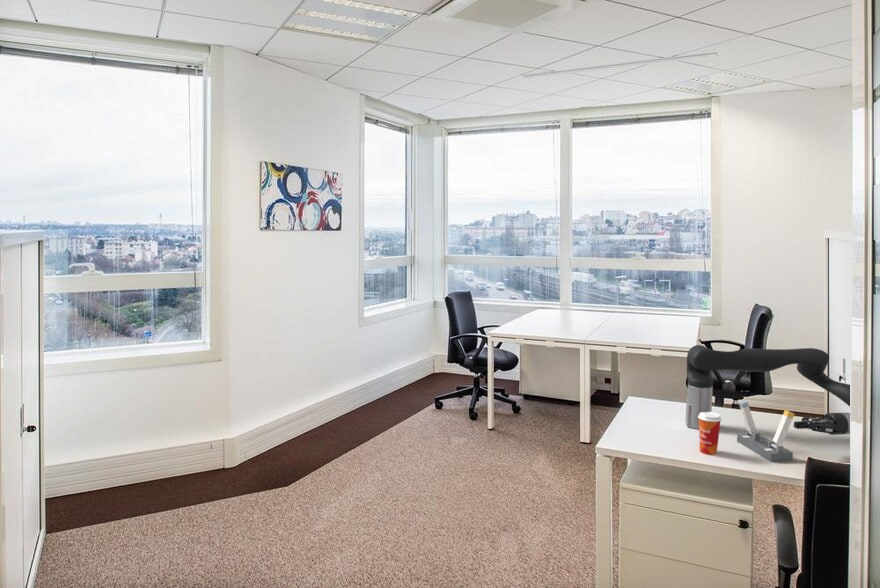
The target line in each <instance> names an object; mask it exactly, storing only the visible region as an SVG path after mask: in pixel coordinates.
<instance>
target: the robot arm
mask: <svg viewBox="0 0 880 588" xmlns="http://www.w3.org/2000/svg"><path fill="white" fill-rule="evenodd" d="M829 362H830V356H829V354H828V353H827V352H825V351H823V349H822V350H821V349H819V348H812V347H809V348H807V347H806V348H805V347H803V348H790V349H788V348H787V349H784V348H783V349H780V348H779V349H772V348H771V349H769V348H768V349H767V348H742V349H737V350H733V351H726V350H725V351H724V350H717V349H716V350H714V349H710V348H708V347H707V346H704V345H700V344H697V345H694V346H692V347H690V349H689V350H688V352H687V355H686V377H687V396H686V397H687V400H686V404H685V405H686V406H685V425H686V427H687V428H690V429H695V430H699V418H698V416H699V414H700V413H701V412H703V413H704V412H713V411H712V410H713V409H712V407H713V388H714V386H713V384H714V381H713V378H712V374H711V371H723V370H725V371H726V370H728V371H729V370H730V371H739V372H752V373H754V372H758V373H767V372H772V371H775V370H777V369H778V370H779V369H780V368H783V367H786V366H789V365H796V370H797V372H798V373H799V374H800V375H802V376H803V377H804V378H806V379H807V380H809V381H810V382H812V383H814V384H815V385H817V386H819V387H820V388H822V389H824V390H825V391H827V392H829V393H830V394H832V395H833V396H835V397H837V399H840V400H841V401H842V402H843V403H844V404H846V405H847V406H848V407H850V385H851V384H848V383H844V382H840V381H836V380H833V379H832V378H830V377H829V376H828V375H827V374H825V370H826V368H827V366H828V365H829ZM850 413H851V412H828V413H825V414H823V416H822V417H821V416H820V417H819V416H817V417H812V418H811V416H810V415H804V416H803V417H802V418H801V420H800V421H793V427H794V428H795V429H797V430H799V429H800V430H803V429H806V430H811V431H813V432H816V433H824V434H828V435H831V436H835V435H836V436H840V435H842V436H843V435H851V434H850Z"/></svg>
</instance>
